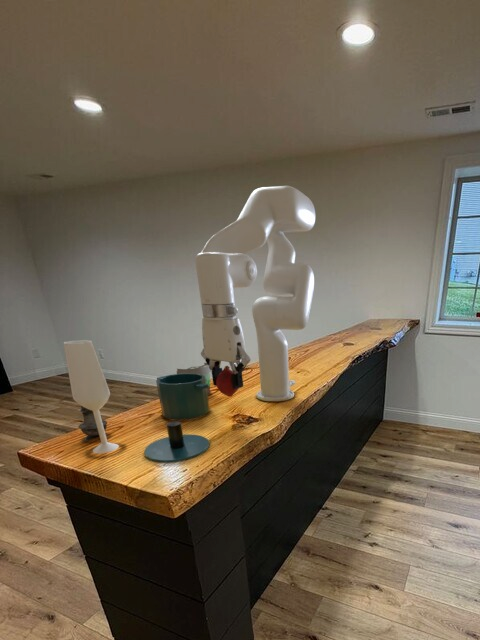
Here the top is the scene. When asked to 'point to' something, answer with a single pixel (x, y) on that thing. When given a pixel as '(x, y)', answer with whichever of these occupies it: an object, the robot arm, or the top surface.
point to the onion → (225, 382)
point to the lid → (176, 445)
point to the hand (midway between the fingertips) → (228, 385)
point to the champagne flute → (88, 384)
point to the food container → (201, 370)
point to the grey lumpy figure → (90, 424)
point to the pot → (183, 396)
